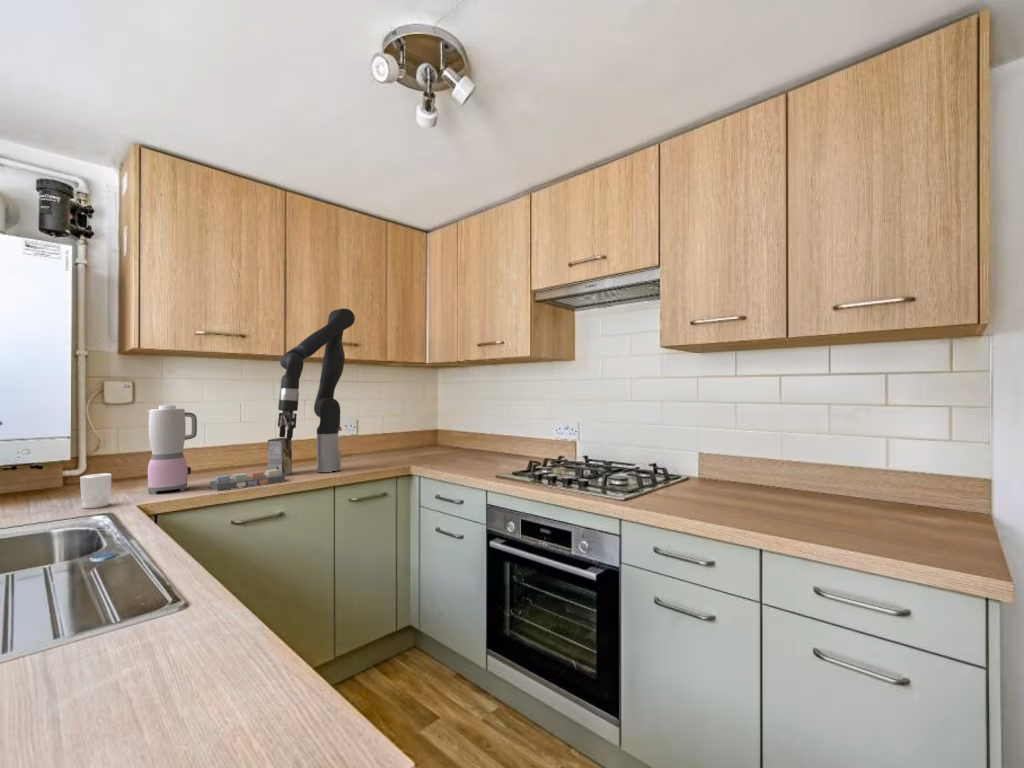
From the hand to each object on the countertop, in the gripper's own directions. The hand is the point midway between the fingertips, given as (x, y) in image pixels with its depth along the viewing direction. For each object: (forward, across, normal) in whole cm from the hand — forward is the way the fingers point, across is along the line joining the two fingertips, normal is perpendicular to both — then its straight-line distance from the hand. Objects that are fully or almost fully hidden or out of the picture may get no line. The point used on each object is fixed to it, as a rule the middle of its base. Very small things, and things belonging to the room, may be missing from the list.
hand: (285, 437), depth 208 cm
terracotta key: (+17, -5, +12) cm, 21 cm away
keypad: (+18, -5, +14) cm, 24 cm away
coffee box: (+17, +10, -3) cm, 20 cm away
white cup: (+23, -6, +60) cm, 65 cm away
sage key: (+17, -5, +17) cm, 25 cm away
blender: (+21, +6, +37) cm, 43 cm away
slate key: (+18, -5, +23) cm, 30 cm away
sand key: (+16, -5, +6) cm, 18 cm away
